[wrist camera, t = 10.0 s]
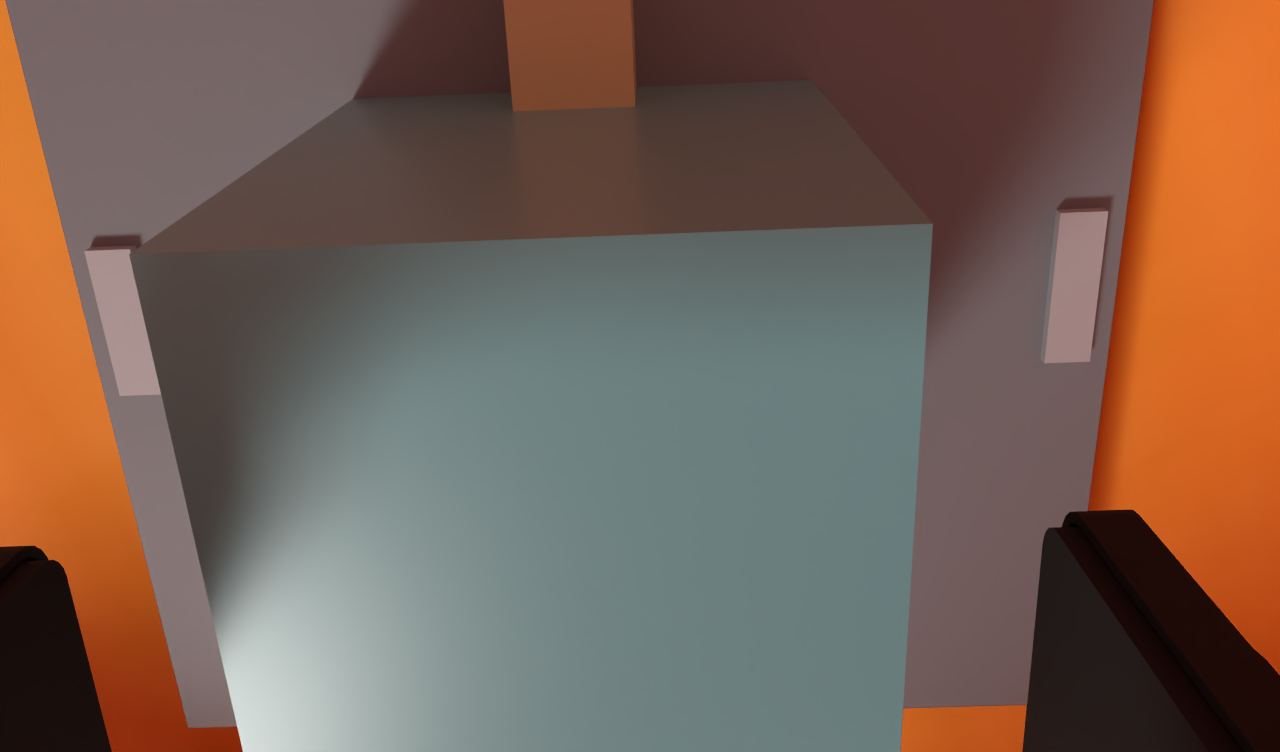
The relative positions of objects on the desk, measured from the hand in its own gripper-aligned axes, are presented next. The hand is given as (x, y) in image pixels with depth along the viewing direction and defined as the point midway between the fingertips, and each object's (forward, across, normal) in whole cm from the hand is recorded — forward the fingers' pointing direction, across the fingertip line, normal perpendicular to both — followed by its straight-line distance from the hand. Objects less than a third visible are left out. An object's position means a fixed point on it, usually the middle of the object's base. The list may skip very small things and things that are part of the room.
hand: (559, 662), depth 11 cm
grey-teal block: (+8, 0, -1) cm, 8 cm away
